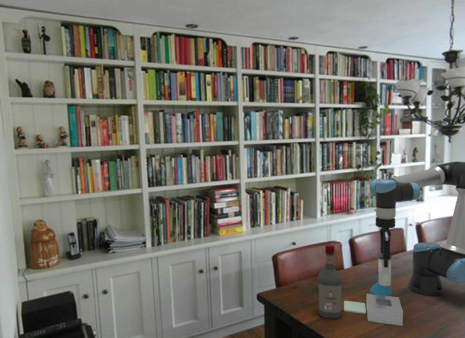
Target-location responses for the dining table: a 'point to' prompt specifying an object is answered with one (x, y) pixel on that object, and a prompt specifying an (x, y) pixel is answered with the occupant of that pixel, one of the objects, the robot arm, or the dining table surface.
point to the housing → (384, 309)
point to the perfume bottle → (380, 288)
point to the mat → (354, 307)
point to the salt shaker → (383, 278)
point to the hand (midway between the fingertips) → (384, 271)
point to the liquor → (329, 288)
